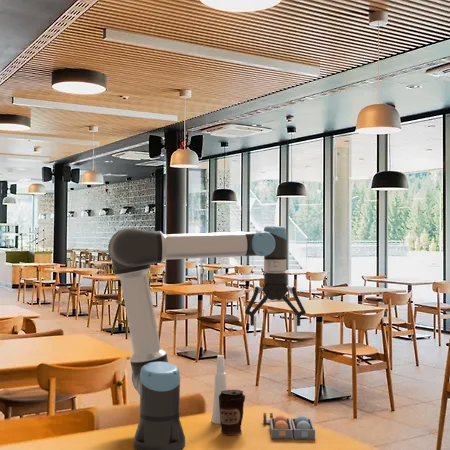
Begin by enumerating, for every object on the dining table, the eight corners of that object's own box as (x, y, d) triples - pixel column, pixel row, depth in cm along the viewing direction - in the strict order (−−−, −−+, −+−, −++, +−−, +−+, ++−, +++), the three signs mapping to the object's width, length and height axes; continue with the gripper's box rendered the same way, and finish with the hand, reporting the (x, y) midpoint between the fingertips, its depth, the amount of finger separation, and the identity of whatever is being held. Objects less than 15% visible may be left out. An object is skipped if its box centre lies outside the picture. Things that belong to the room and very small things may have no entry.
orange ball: (274, 437, 188) (274, 422, 188) (274, 432, 192) (273, 418, 192) (289, 437, 188) (288, 422, 188) (288, 432, 192) (287, 418, 192)
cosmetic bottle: (232, 421, 205) (233, 355, 206) (220, 425, 201) (221, 357, 201) (219, 417, 209) (219, 353, 210) (207, 421, 205) (207, 355, 205)
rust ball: (273, 431, 194) (273, 417, 194) (273, 426, 198) (273, 413, 198) (287, 431, 194) (287, 417, 194) (286, 427, 198) (286, 413, 198)
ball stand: (263, 424, 202) (263, 415, 202) (263, 421, 205) (263, 412, 205) (273, 424, 202) (273, 415, 202) (272, 421, 205) (272, 412, 205)
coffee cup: (242, 438, 188) (242, 395, 188) (215, 436, 189) (215, 394, 190) (246, 429, 196) (247, 389, 197) (221, 427, 198) (221, 387, 198)
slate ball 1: (295, 431, 194) (295, 417, 194) (294, 427, 198) (294, 413, 198) (309, 431, 193) (309, 417, 193) (307, 427, 198) (307, 413, 198)
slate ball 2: (297, 437, 188) (297, 423, 188) (295, 433, 192) (295, 418, 192) (311, 437, 187) (311, 423, 188) (309, 433, 192) (309, 419, 192)
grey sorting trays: (271, 439, 187) (271, 429, 187) (269, 427, 199) (270, 418, 199) (315, 440, 186) (315, 430, 186) (310, 427, 199) (310, 418, 199)
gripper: (237, 272, 203) (237, 336, 202) (313, 273, 201) (313, 337, 201) (238, 271, 210) (238, 333, 210) (311, 271, 209) (311, 334, 208)
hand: (275, 335), depth 205 cm, fingers open, 13 cm apart
